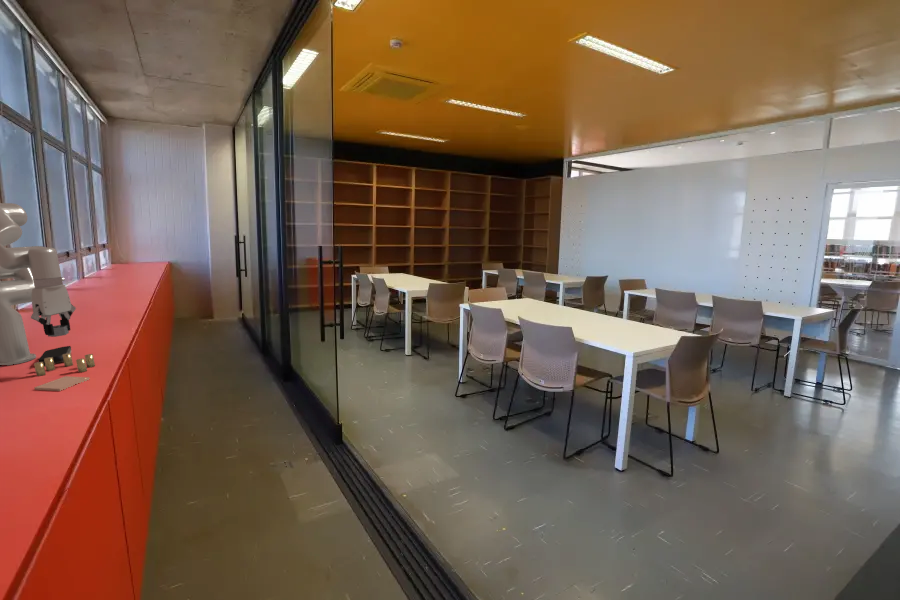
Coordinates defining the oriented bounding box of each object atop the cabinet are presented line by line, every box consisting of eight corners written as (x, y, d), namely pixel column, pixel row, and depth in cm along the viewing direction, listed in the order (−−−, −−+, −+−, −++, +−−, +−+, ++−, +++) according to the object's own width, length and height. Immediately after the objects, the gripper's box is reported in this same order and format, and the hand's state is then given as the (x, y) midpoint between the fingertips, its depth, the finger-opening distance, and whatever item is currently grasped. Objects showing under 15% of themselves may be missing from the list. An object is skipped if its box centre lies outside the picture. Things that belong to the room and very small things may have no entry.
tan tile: (34, 389, 145) (34, 387, 144) (65, 378, 154) (65, 376, 154) (60, 391, 143) (59, 388, 143) (89, 379, 153) (89, 377, 152)
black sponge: (67, 363, 171) (65, 354, 171) (38, 368, 167) (36, 358, 166) (73, 353, 185) (71, 344, 184) (46, 357, 180) (44, 348, 179)
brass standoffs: (30, 375, 158) (27, 363, 157) (65, 364, 170) (62, 352, 169) (68, 377, 155) (66, 365, 154) (101, 365, 167) (99, 354, 166)
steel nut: (44, 336, 158) (43, 327, 157) (59, 332, 163) (57, 324, 162) (58, 337, 157) (56, 328, 156) (72, 333, 162) (70, 324, 161)
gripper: (64, 278, 165) (72, 326, 169) (12, 286, 148) (23, 339, 152) (81, 279, 164) (89, 326, 167) (31, 287, 147) (41, 339, 151)
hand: (58, 332), depth 160 cm, fingers closed on steel nut, 5 cm apart
